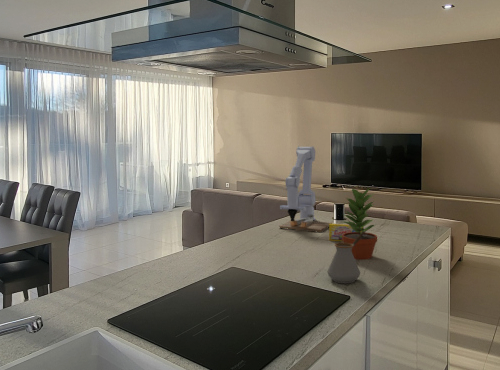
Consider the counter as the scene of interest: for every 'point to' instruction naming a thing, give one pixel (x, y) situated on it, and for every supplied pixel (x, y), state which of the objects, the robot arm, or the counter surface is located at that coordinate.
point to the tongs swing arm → (298, 221)
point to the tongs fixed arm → (307, 221)
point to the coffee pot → (344, 263)
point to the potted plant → (360, 227)
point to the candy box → (338, 231)
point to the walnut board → (312, 227)
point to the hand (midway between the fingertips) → (292, 222)
